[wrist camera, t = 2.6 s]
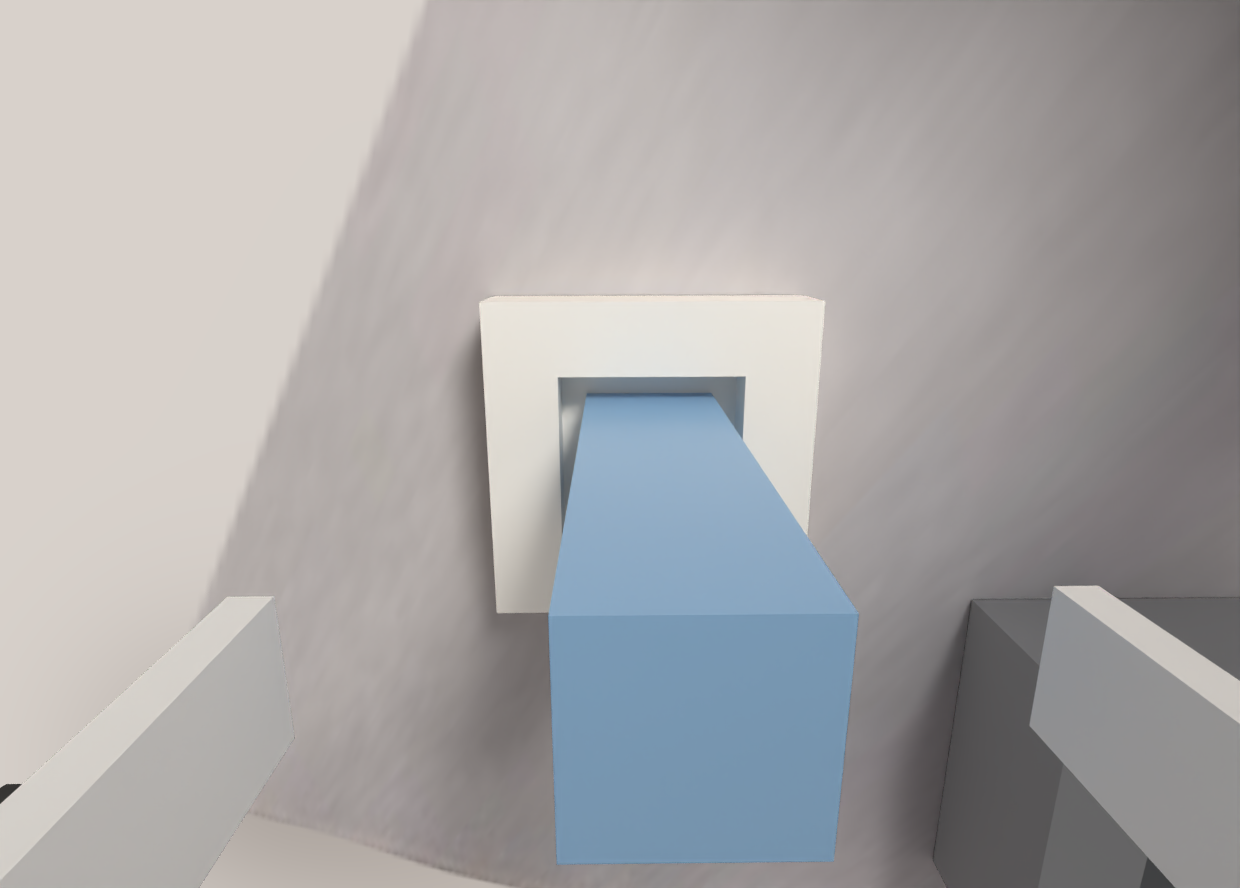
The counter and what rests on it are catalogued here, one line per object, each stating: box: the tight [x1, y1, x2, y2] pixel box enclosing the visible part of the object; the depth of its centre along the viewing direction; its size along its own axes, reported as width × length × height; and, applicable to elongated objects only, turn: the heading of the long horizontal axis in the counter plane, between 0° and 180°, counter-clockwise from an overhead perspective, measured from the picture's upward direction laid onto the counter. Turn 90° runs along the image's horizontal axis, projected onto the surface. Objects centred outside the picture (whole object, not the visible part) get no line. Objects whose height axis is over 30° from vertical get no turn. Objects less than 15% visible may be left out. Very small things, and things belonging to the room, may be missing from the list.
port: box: [933, 598, 1240, 888], centre depth 24 cm, size 12×12×6 cm
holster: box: [479, 295, 825, 613], centre depth 23 cm, size 10×10×2 cm
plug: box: [548, 393, 859, 865], centre depth 16 cm, size 4×4×14 cm
